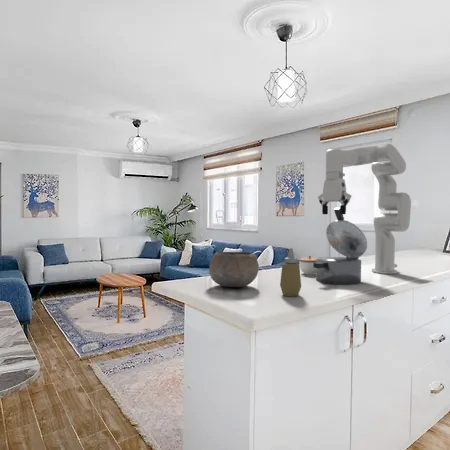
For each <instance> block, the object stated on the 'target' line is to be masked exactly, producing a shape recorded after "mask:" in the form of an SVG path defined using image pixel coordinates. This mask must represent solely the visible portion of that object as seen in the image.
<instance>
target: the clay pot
mask: <svg viewBox="0 0 450 450" xmlns="http://www.w3.org/2000/svg"><path fill="white" fill-rule="evenodd" d="M259 266H260V265H259V262H258V257H257V255H256V254H254V253H253V252H249V251H248V252H247V251H216V252H215V253H214V254H213V256H212V258H211V260H210V262H209V267H208V268H209V271H208V272H209V275H210V279H211V280H212V281H214V283H215V284H217V285H219V286H221V287H222V286H223V287H227V288H243V287H247V286H249V285H250V284H251V283H253V281H255V279H256V278H257V276H258V275H259V270H260V269H259V268H260V267H259Z"/></svg>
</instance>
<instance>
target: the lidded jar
mask: <svg viewBox="0 0 450 450" xmlns="http://www.w3.org/2000/svg"><path fill="white" fill-rule="evenodd" d="M298 260H299V263H298V264H299V267H300V272H302V273H303V274H304V275H311V276H313V275H315V276H316V268H314V263H316V257H312V256H311V255H308V257H301V258H299V259H298Z"/></svg>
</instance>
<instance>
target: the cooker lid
mask: <svg viewBox="0 0 450 450" xmlns="http://www.w3.org/2000/svg"><path fill="white" fill-rule="evenodd" d="M333 211H334V214H335V217H336V220H333V221H331V222H330V223H329V224H327V227H326V230H325V232H326V233H325V235H326V238H327V239H326V240H327V241H328V243H329V245H330V246H331V247H332V248H333V249H334V250H335V251H336V252H338V253H339V254H340V255H342V256H344V257H346V258H355V259H359V258H360V257H361V256H363V255H364V253H366V251H367V248H368V240H367V238H366V235H365V234H364V232H363V230H361V229H360V227H358V226H357V225H356V224H355V223H352V222H351V221H348V220H345V217H344V214H340V207H335V208H333ZM359 260H360V259H359Z"/></svg>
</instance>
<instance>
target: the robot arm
mask: <svg viewBox="0 0 450 450" xmlns="http://www.w3.org/2000/svg"><path fill="white" fill-rule="evenodd" d="M368 164H371V166H370V167H371V168H370V169H371V172H372V174H373V175H374V177H375V178H376V180H377V181H378V182H377V183H378V187H379V188H378V201H377V205H378V208H379V210H381V211H386V213H385V212H384V213H383V212H382V213H378V214H376V215H375V216H374V218H373V227H374V235H375V237H374V238H375V239H374V240H375V241H374V243H375V246H374V248H375V249H374V250H375V251H374V253H375V254H374V268H372V269H371V272H372V273H374V274H386V275H393V274H395V275H396V274H398V270H397V269H395V268H397V267H398V264H397V263H395V256H396V255H395V251H396V250H395V244H396V240H395V237H394V235H393V233H392V232H399V233H400V232H401V233H402V232H406V231H407V230H408V229H409V227H410V222H411V212H412V211H411V210H412V209H411V208H412V201H411V200H412V199H411V197H410V195H409V194H408V193H406V192H402V191H401V192H397V189H398V188H397V185H398V184H397V181H396V180H395V178H394V177H393V176H396V175H402V174H403V173H405V171H406V169H407V163H406V161H405V158H404V157H403V156H402V155H401V153H400V151H399V150H398V149H397V148H396V147H395V145H393V144H391V143H383V144H378V145H377V144H376V145H370V146H364V147H357V148H352V149H345V150H343V149H340V148H331V149H328V150H327V151H326V152H325V179H324V182H323V189H322V193H321V194H320V195H319V196H317V199H318V202H319V204H321V206H322V208H321V210H322V215H328V213H329V210H328V209H329V206H328V204H329V203H330V202H333V203H334V202H339V203H340V207H339V208H340V214H343V215H346V214H347V206H348V204H349V203H350V200H351V199H352V195H351V194H350V193H348V192H347V186H346V180H345V179H344V177H345V176H346V174H345V173H344V168H349V167H353V166H354V167H357V166H363V165H368ZM390 211H391V212H390ZM388 212H389V213H388ZM392 212H394V213H392ZM395 212H397V213H395Z"/></svg>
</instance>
